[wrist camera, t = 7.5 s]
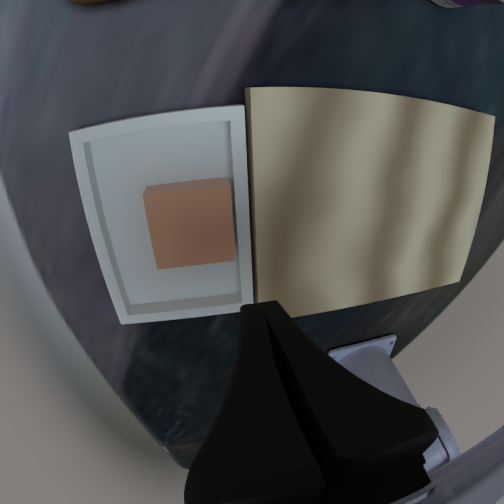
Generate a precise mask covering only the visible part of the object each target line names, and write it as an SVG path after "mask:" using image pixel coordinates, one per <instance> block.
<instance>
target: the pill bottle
mask: <svg viewBox="0 0 504 504" xmlns="http://www.w3.org/2000/svg"><path fill="white" fill-rule="evenodd" d="M431 1H432V2H434V3H435V4H437V5H439V6H442V7H446V8H455V7H463V6H473V5H489V4H504V0H431Z"/></svg>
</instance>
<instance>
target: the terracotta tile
mask: <svg viewBox="0 0 504 504" xmlns="http://www.w3.org/2000/svg"><path fill="white" fill-rule="evenodd" d="M143 200H144V205H145V211H146V217H147V222H148V227H149V232H150V237H151V242H152V247H153V252H154V257H155V261H156V266H157V270H158V269H167V268H176V267H185V266H194V265H203V264H212V263H220V262H229V261H235V247H234V232H233V216H232V200H231V184H230V182H229V179H228V177H221V178H211V179H201V180H192V181H183V182H175V183H167V184H159V185H152V186H147V187H146V189H145V191H144V193H143Z"/></svg>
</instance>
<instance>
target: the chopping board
mask: <svg viewBox="0 0 504 504" xmlns="http://www.w3.org/2000/svg"><path fill="white" fill-rule="evenodd" d="M245 106H246V128H247V150H248V172H249V194H250V217H251V239H252V261H253V283H254V303H260V302H266V301H273V300H277V301H278V302H279V303H280V304H281V305H282V307H283V308H284V309H285V311H286V312H287V313H288V314H289V315H290V317H291V318H292V317H298V316H304V315H310V314H315V313H321V312H326V311H332V310H337V309H342V308H347V307H352V306H357V305H362V304H367V303H371V302H376V301H381V300H385V299H390V298H394V297H399V296H403V295H407V294H411V293H416V292H420V291H424V290H428V289H432V288H436V287H440V286H443V285H447V284H451V283H455V282H458V281H460V278H461V275H462V272H463V269H464V266H465V263H466V260H467V257H468V253H469V250H470V247H471V243H472V240H473V236H474V233H475V229H476V225H477V221H478V217H479V213H480V209H481V205H482V200H483V196H484V191H485V186H486V180H487V175H488V169H489V163H490V156H491V149H492V141H493V132H494V121H495V117H494V116H491V115H488V114H484V113H480V112H477V111H473V110H469V109H465V108H461V107H457V106H452V105H448V104H443V103H439V102H434V101H429V100H423V99H418V98H412V97H406V96H399V95H392V94H385V93H377V92H368V91H358V90H346V89H332V88H312V87H252V88H245Z"/></svg>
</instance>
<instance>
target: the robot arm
mask: <svg viewBox="0 0 504 504" xmlns="http://www.w3.org/2000/svg"><path fill="white" fill-rule="evenodd" d="M240 316H241V333H240V340H239V347H238V353H237V357H236V361H235V366H234V370H233V373H232V377H231V380H230V383H229V386H228V389H227V392H226V395H225V398H224V400H223V403H222V405H221V408H220V410H219V413H218V415H217V417H216V419H215V421H214V423H213V425H212V427H211V430H210V432H209V434H208V436H207V438H206V439H205V441H204V443H203V445H202V446H201V448H200V450H199V452H198V453H197V455H196V456H195V458H194V460H193V461H192V463H191V465H190V469H189V473H188V476H187V480H186V485H185V490H184V503H185V504H497V503H498V502H499V501H500V500H501V499H502V498H503V497H504V425H503V426H502V427H501V428H499V429H498V430H497V431H495V432H494V433H493V434H491V435H490V436H488V437H487V438H486V439H484V440H483V441H481V442H480V443H478V444H477V445H475V446H474V447H472V448H471V449H469V450H468V451H466V452H464V453H463V454H460V452H459V447H458V445H457V443H456V441H455V439H454V437H453V435H452V433H451V431H450V429H449V427H448V426H447V424H446V422H445V421H444V419H443V417H442V416H441V414H440V413H439V411H438V410H437V409H436V408H431V407H428V408H426V409H423V408H421V407H420V405H419V404H417V402H416V400H415V398H414V397H413V395H412V393H411V392H410V390H409V388H408V387H407V385H406V383H405V382H404V380H403V378H402V377H401V375H400V373H399V372H398V370H397V368H396V367H395V365H394V363H393V362H392V360H391V358H390V357H389V356H390V354H391V351H392V349H393V346H394V343H395V341H396V338H397V337H396V336H395V334H392V335H388V336H385V337H381V338H377V339H373V340H370V341H366V342H362V343H358V344H354V345H349V346H345V347H341V348H337V349H332V350H330V351H329V352H328V354H327V353H326V352H325V351H324V350H323V349H321V348H320V347H319V346H318V345H317V344H316V343H315V342H314V341H313V340H312V339H311V338H310V337H309V336H308V335H307V334H306V333H305V332H304V331H303V330H302V329H301V328H300V327H299V326H298V325H297V323H296V322H295V321H294V320H293V319H292V318H291V317H290V315H289V314H288V313H287V312H286V311H285V309H284V308H283V307H282V305H281V304H280V303H279V302H278V301H277V300H273V301H266V302H260V303H252V304H245V305H242V306H241V307H240ZM442 445H443V446H442ZM443 447H444V448H443ZM444 449H445V450H444ZM445 451H446V452H445ZM446 453H447V454H446Z"/></svg>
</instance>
